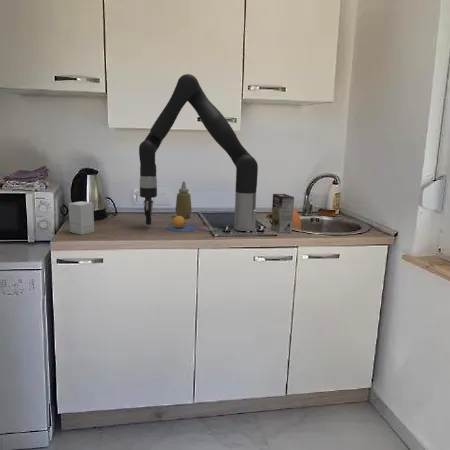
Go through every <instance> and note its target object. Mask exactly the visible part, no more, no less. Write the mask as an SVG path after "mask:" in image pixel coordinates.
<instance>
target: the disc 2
mask: <svg viewBox="0 0 450 450" xmlns="http://www.w3.org/2000/svg"><path fill="white" fill-rule="evenodd" d="M207 226H208V225H201V226H198V229H197V230H198V231H202V232H211V231H210V230H209V229H208V227H207Z"/></svg>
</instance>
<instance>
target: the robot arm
mask: <svg viewBox="0 0 450 450" xmlns="http://www.w3.org/2000/svg"><path fill="white" fill-rule="evenodd" d="M187 102H188V103H189V104H190V106H191V107H192V108H193V109H194V111H195V112H196V114H197V115H198V117H199V119H200V121H201V122H202V125H203V126H204V128H205V129H206V131H207V132H208V134H209V135H210V136H211V137H212V138H213V140H214V141H215V142H216V143H217V144H218V145H219V146H220V147H221V148H222V149H223V150H224V151H225V152H226V153H227V154H228V156H229V157H230V160H231V161H232V163H233V164H234V166H235V167H236V168H235V174H236V175H235V194H234V195H235V197H234V199H235V200H234V223H233V226H234V227H233V229H236V230H239V231H252V232H256V225H257V209H256V205H257V188H258V172H259V170H258V169H259V166H258V162H257V159H255V157H253V156H252V155H251V153H249V151H247V149H246V148H245V147H244V146H243V145H242V142H241V141H240V139H239V138H238V136H237V134H236V133H235V130H233V127H232V126H231V124H230V123H229V122H228V120H227V119H226V117H225V116H224V114H222V112H220V110H219V109H218V108H217V107H216V106H215V105H214V104H213V103H212V102H211V101H210V100H209V98H208V97H207V96H206V94H205V92H204V91H203V88H202V87H201V85H200V83H199V81H198V79H197V77H196V76H194V75H192V74H190V73H186V74H182V75H181V76H180V77H179V78H178V80H177V83H176V85H175V87H174V90H173V91H172V94H171V97H170V98H169V100H168V102H167V103H166V105H165V107H164V108H163V109H162V111H161V112H160V113H159V115H158V117H157V119H156V120H155V121H154V123H153V124H152V126H151V128H150V131H149V133H148V135H147V136H146V137H145V139H144V140H143V141H142V142H141V143H140V144H139V146H138V154H139V155H138V156H139V163H140V164H139V165H140V166H139V174H140V176H139V197H140V198H144V201H143V206H144V207H143V208H144V209H143V211H144V217H145V224H146V226H151V225H152V216H153V210H154V209H153V207H154V200H153V199H152V198H157V196H158V180H157V165H156V164H157V163H156V153H157V151H158V150H159V148H160V146H161V144H162V142H163V141H164V139H165V137H167V135H168V133H169V132H170V130H171V128H172V127H173V125H174V123H175V122H176V119H178V116H179V115H180V113H181V111H182V109H183V107H184V106H185V105H186V104H187ZM236 230H235V231H236ZM239 231H238V232H239Z"/></svg>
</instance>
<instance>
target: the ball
mask: <svg viewBox="0 0 450 450" xmlns="http://www.w3.org/2000/svg"><path fill="white" fill-rule="evenodd" d="M185 219H186V218H183V217H182V216H177V215H176V216H174V218H173V219H172V225H174V226H175V227H176V228H182V227H183V226H184V225H186V220H185Z"/></svg>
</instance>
